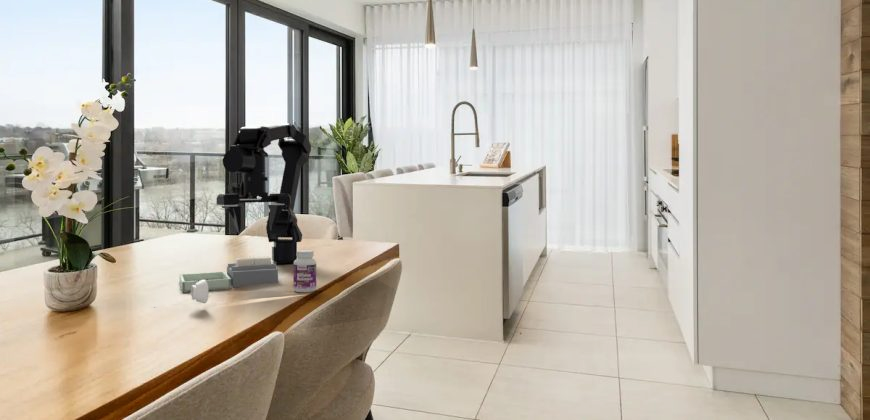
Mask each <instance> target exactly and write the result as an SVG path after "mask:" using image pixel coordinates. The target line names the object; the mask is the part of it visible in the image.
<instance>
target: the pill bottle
mask: <svg viewBox="0 0 870 420" xmlns="http://www.w3.org/2000/svg"><path fill="white" fill-rule="evenodd" d="M296 256H297V259H296V260H295V261H294V263H293V270H292V271H293V291H294V292H296V293H311V292H315V291H316V290H317V261H316V260H315V259H314V250H310V249H309V250H307V249H305V250H304V249H303V250H301V249H300V250H297V252H296Z"/></svg>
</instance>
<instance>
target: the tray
mask: <svg viewBox="0 0 870 420" xmlns="http://www.w3.org/2000/svg"><path fill="white" fill-rule="evenodd" d="M207 279H208V280H207ZM198 280H199V281H201V280H205V281H206V282H207V285H208V290H209V292H210V291H221V290H231V289H232V285H231V278H230V277H229V276H228V275H227V272H225V271H214V272H213V271H212V272H210V271H209V272H198V273H195V272H194V273H183V274H179V286H180V290H181V292H182V293H191V286H192V285H195V284H196V283H197V282H199V281H198Z"/></svg>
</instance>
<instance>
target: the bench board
mask: <svg viewBox="0 0 870 420" xmlns="http://www.w3.org/2000/svg"><path fill="white" fill-rule="evenodd" d="M226 274H227V275H228V276H229V277H230V278H231V288H240V287H250V286H258V285H266V284H275V283H276V284H277V283H279V269H278V268H277V263H271V264H266V265H249V266H235V262H231V263H227V266H226Z"/></svg>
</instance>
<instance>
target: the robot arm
mask: <svg viewBox="0 0 870 420" xmlns="http://www.w3.org/2000/svg"><path fill="white" fill-rule="evenodd" d="M285 138H286V139H285ZM277 140H278V143H277V145H278V147H279V149H280V151H281V157H282V159H283V161H284V168H283V174H282V180H281V185H280V190H279V193H268V191H267V190H266V189H267V188H266V185H267V183H266V182H268V176H266V158H269V153H268V152H267V151H266V150H265V148H267V147H268V146H270V145H272V142H273V141H277ZM311 152H312V144H311V142H310V140H309V139H308V137H307V135H305V134H304V133H303V132H301V131H300V130H298V129H297V127H296V125H295V124H292V123H279V124H277V125H271V126H263V125H262V126H242V127H240V128H239V131H238V132H237V135H236V137H235V140H234V142H233V145H229V150H228V151H226V153H225V154H224V156H223V158H222V165H223V167H224V169H225V170H226V171H227V172H229V173H236V174H237V173H239V174H241V173H242V176H241V178H240V183H239V184H238V182H229V184H228V185H227V186H228V190H227V191H228V193H223V194H222V193H220V194H218V195H217V196H216V205H217V206H221V208H222V209H226V210H227V212H228V213H229V215H230V217H231V219H232V222H233V224H234V227H235V230H236V232H237V233H241V229H242V209H241V208H242V206H240V205H239V204H242V203H244V204H246V203H249V204H251V203H270V204H268V205H267V206H268V209H269V212H268V217H267V220H266V226H265V229H266V230H265V231H266V236H267V240H268V243H273V246H271V261H272V262H273V263H274V264H276V265H278V264H288V263H289V264H294V261H295V260H296V259H298V257H297V256H296V252H297V251H298V249H297V248H298V243H302V241H303V233H302V231H301V229H300V227H299V225H298V217H297V215H296V214H295V211H294V210H295V205H296V197H297V193H298V188H299V181H300V176H301V169H302V167H303V166H304V165H305V164H306V163H307V162H308V160H309V158H310V157H309V156H310V153H311ZM266 191H267V192H266ZM268 194H269V195H268ZM258 197H259V198H258Z"/></svg>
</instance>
